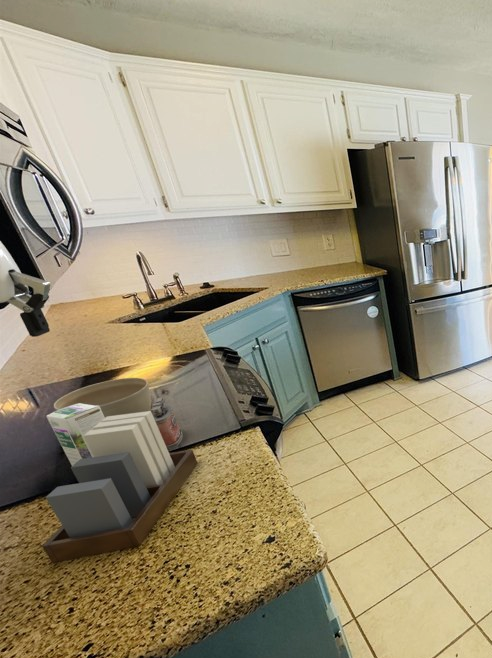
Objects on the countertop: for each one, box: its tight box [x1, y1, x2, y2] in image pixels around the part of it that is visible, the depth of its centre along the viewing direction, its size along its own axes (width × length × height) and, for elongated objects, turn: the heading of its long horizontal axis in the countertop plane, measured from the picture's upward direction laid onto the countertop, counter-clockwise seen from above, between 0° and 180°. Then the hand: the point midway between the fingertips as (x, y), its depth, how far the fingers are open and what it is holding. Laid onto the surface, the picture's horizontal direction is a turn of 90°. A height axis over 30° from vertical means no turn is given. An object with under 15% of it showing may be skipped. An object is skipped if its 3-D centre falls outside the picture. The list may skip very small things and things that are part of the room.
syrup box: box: [46, 403, 105, 467], centre depth 82 cm, size 6×6×14 cm
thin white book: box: [84, 424, 163, 487], centre depth 74 cm, size 7×2×15 cm, turn 106°
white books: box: [93, 410, 175, 482], centre depth 78 cm, size 7×4×15 cm, turn 106°
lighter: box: [151, 397, 184, 450], centre depth 93 cm, size 8×3×10 cm, turn 30°
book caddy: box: [41, 449, 199, 564], centre depth 74 cm, size 12×23×4 cm, turn 16°
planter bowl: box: [53, 377, 152, 418], centre depth 96 cm, size 16×16×11 cm
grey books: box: [45, 452, 151, 538], centre depth 68 cm, size 7×9×12 cm
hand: (4, 336), depth 66 cm, fingers open, 9 cm apart
